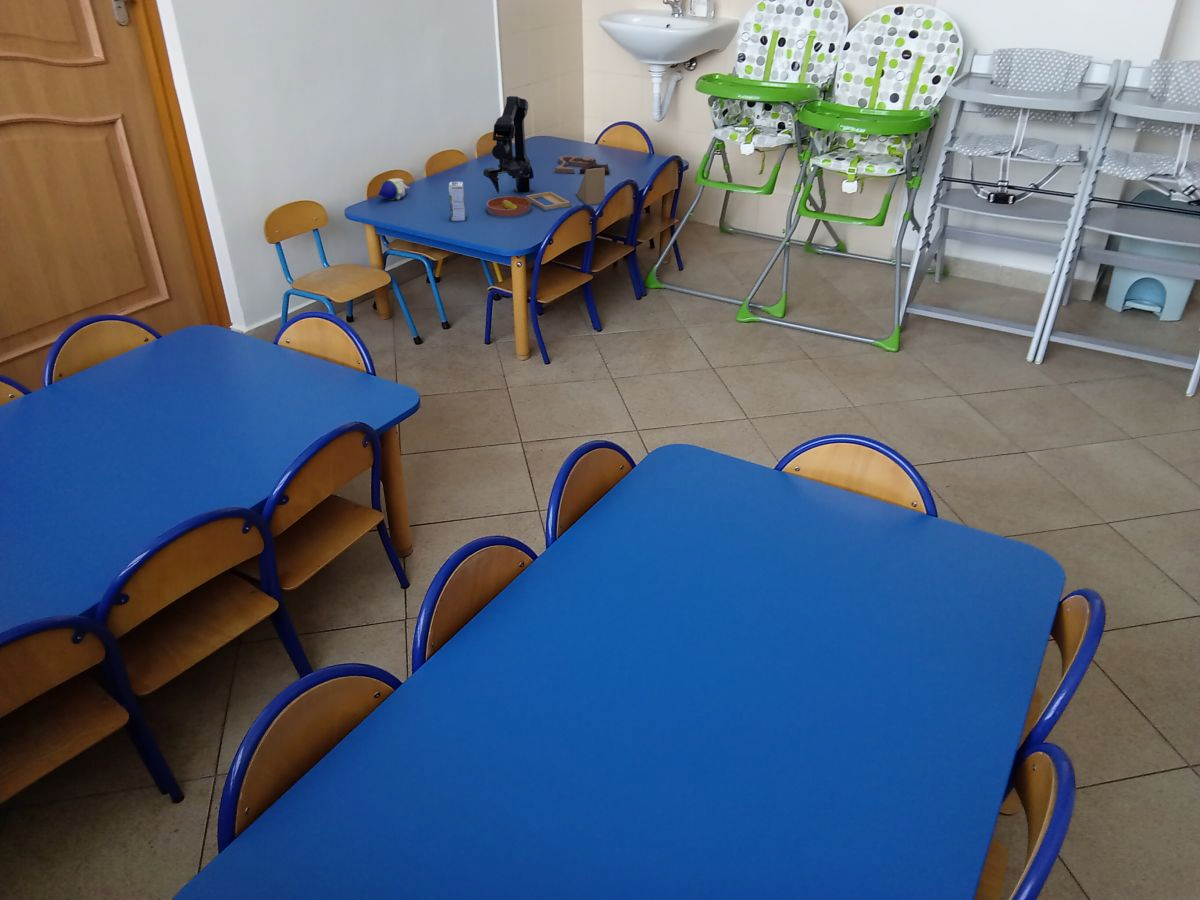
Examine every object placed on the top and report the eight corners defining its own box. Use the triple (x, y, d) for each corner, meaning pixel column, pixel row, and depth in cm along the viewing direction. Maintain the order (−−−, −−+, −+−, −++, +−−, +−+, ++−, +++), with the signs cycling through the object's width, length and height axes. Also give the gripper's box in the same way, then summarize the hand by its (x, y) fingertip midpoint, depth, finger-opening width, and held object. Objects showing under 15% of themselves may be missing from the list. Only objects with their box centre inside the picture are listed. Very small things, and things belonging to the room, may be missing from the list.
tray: (525, 200, 388) (525, 195, 387) (550, 195, 393) (550, 191, 392) (544, 211, 375) (544, 206, 374) (569, 206, 380) (569, 201, 379)
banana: (499, 206, 379) (499, 198, 377) (507, 204, 381) (506, 197, 379) (511, 213, 371) (511, 205, 369) (519, 212, 372) (518, 204, 370)
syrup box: (451, 216, 369) (448, 181, 361) (466, 216, 369) (463, 181, 362) (451, 221, 364) (447, 185, 356) (465, 220, 365) (462, 185, 357)
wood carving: (608, 175, 420) (616, 161, 439) (608, 170, 419) (616, 157, 438) (550, 172, 424) (560, 159, 444) (550, 167, 423) (560, 155, 442)
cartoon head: (411, 199, 398) (384, 210, 383) (395, 185, 399) (367, 196, 383) (418, 183, 393) (391, 194, 377) (402, 170, 394) (374, 180, 378)
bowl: (480, 208, 379) (479, 200, 377) (518, 201, 387) (518, 193, 385) (498, 220, 365) (498, 212, 364) (538, 212, 373) (538, 205, 372)
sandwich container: (594, 192, 397) (594, 158, 388) (605, 202, 384) (605, 167, 376) (575, 194, 394) (575, 160, 386) (586, 204, 382) (585, 169, 374)
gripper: (493, 160, 353) (496, 199, 362) (535, 154, 361) (536, 192, 370) (481, 154, 361) (484, 192, 370) (522, 148, 369) (524, 185, 378)
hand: (508, 191), depth 372 cm, fingers open, 9 cm apart
